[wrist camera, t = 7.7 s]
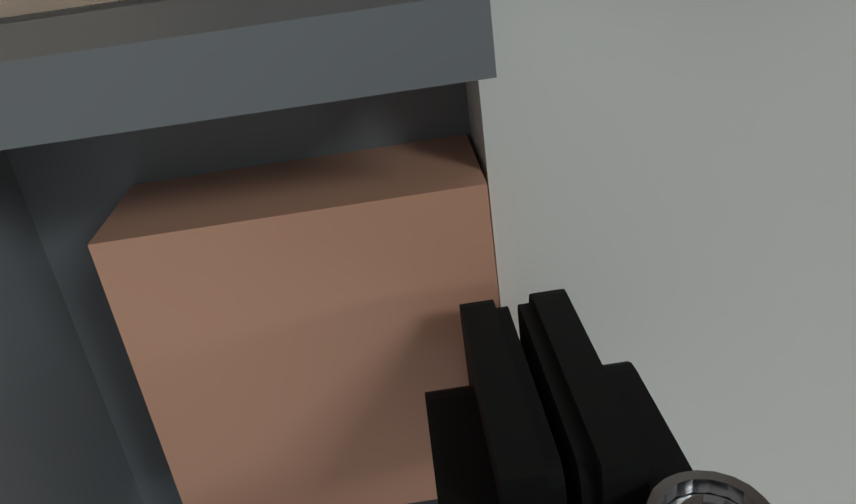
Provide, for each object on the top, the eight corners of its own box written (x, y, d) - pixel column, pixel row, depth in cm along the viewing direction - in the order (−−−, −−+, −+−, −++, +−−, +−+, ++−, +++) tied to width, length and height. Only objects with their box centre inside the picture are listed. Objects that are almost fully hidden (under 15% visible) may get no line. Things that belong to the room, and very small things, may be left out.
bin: (-73, 28, 13) (-298, 105, 9) (446, -47, 13) (489, -10, 9) (135, 534, 18) (62, 745, 14) (503, 478, 19) (549, 668, 14)
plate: (446, -47, 13) (467, -28, 11) (1151, -149, 13) (1349, -157, 11) (503, 478, 19) (527, 579, 16) (1007, 400, 19) (1116, 487, 16)
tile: (132, 184, 14) (87, 244, 11) (466, 134, 14) (487, 183, 11) (218, 445, 16) (195, 537, 14) (497, 402, 16) (518, 486, 14)
